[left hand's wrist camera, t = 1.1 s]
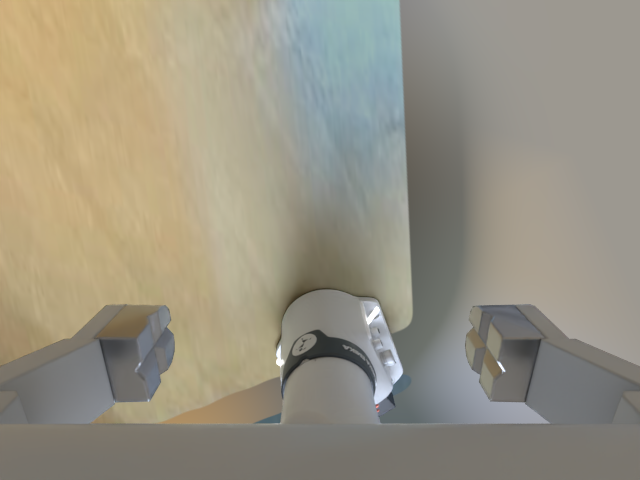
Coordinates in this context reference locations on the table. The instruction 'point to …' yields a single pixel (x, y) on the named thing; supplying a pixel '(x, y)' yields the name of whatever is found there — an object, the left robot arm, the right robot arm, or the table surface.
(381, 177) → the table surface
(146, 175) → the table surface
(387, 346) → the left robot arm
